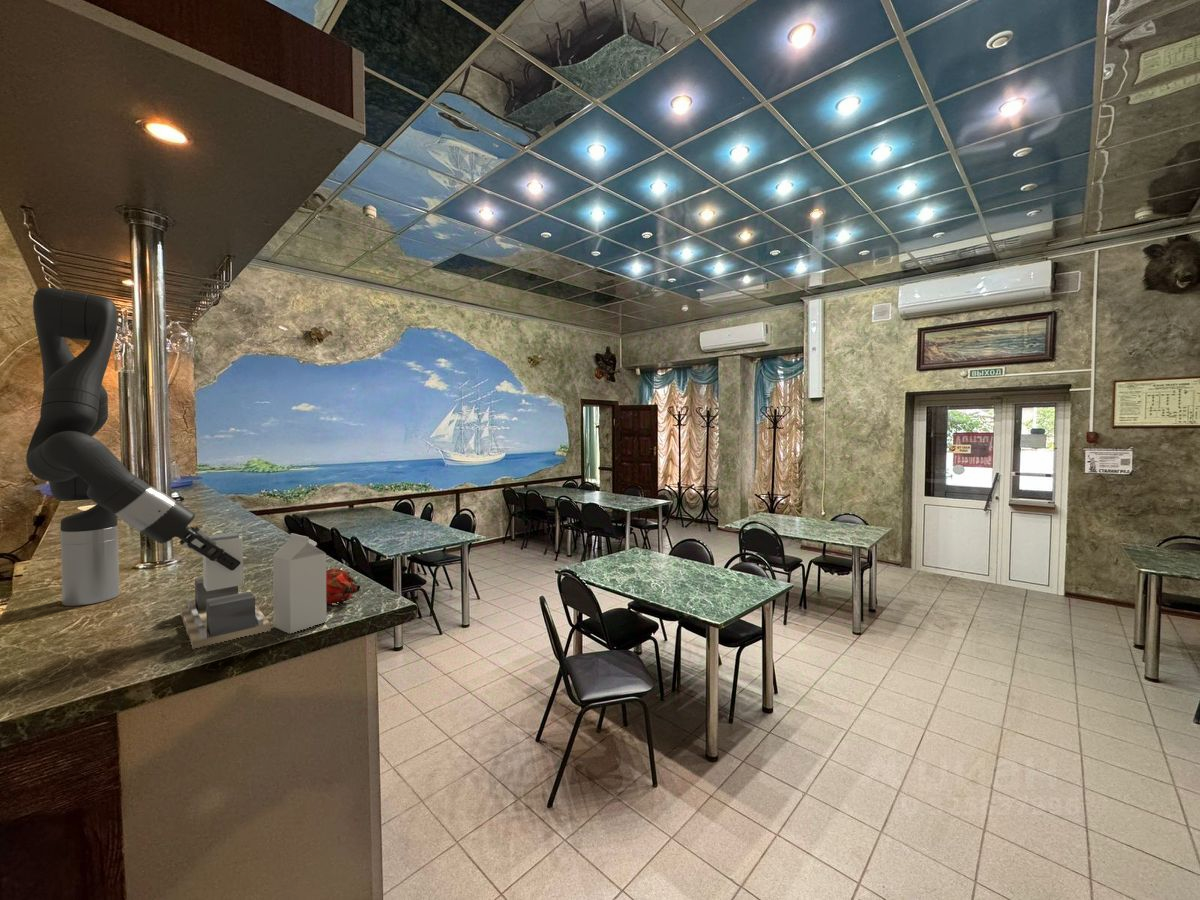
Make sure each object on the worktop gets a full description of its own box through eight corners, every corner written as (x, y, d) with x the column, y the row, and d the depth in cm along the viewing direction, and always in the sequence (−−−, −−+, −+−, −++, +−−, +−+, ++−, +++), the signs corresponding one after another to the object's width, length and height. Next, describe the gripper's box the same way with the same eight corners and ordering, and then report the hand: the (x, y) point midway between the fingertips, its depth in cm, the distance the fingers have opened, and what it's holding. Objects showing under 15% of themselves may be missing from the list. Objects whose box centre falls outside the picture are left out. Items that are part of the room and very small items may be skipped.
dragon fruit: (326, 601, 117) (350, 619, 110) (297, 589, 111) (320, 607, 104) (349, 570, 120) (373, 586, 114) (321, 557, 114) (345, 572, 107)
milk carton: (290, 635, 94) (289, 540, 93) (273, 627, 97) (272, 536, 97) (326, 623, 100) (326, 534, 99) (309, 616, 103) (308, 530, 103)
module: (203, 585, 99) (202, 535, 99) (239, 579, 103) (238, 531, 103) (206, 591, 95) (205, 539, 95) (243, 584, 100) (242, 535, 99)
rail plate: (180, 614, 104) (179, 580, 103) (247, 601, 112) (247, 570, 112) (192, 649, 87) (192, 609, 87) (270, 630, 96) (270, 594, 95)
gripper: (177, 503, 89) (256, 555, 97) (171, 496, 99) (243, 544, 107) (138, 535, 85) (224, 586, 94) (136, 525, 95) (213, 572, 104)
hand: (234, 564), depth 101 cm, fingers closed on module, 5 cm apart
